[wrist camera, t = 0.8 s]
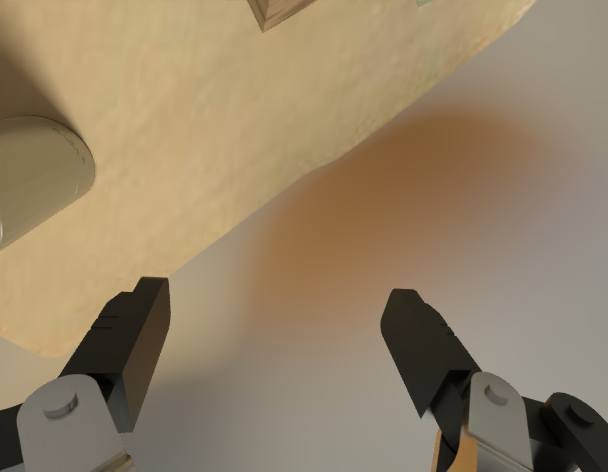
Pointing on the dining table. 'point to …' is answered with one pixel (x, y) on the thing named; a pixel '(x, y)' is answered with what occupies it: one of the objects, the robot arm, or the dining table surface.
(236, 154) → the dining table surface
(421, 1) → the step
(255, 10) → the stand
